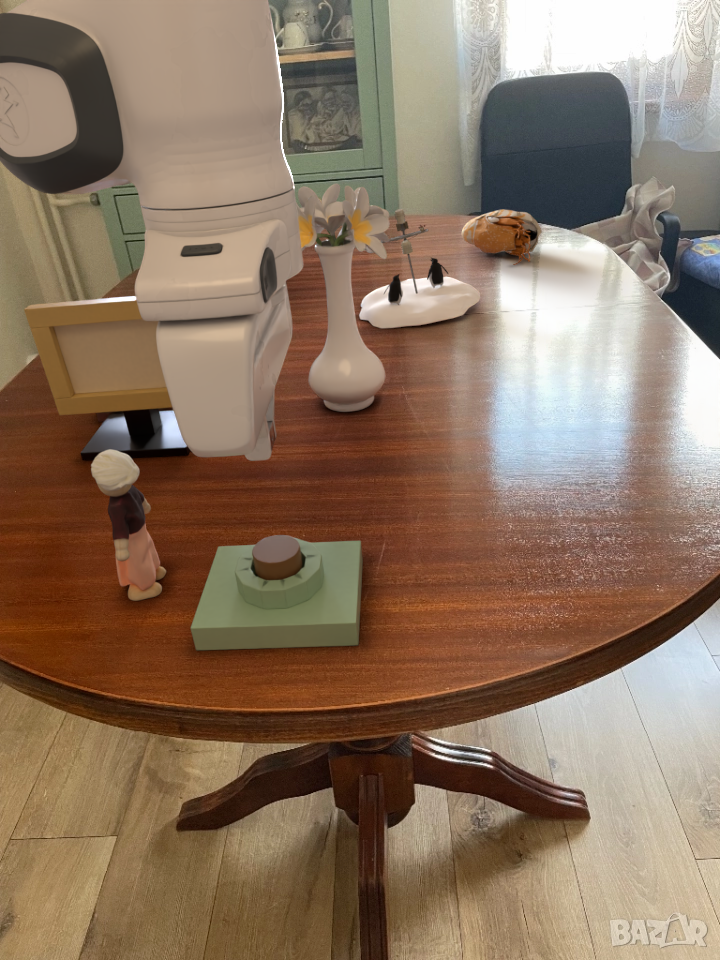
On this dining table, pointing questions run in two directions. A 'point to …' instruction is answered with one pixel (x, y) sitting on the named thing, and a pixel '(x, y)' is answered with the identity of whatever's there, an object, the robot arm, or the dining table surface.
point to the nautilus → (503, 232)
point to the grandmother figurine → (129, 524)
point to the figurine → (417, 293)
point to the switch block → (281, 600)
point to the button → (277, 557)
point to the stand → (138, 435)
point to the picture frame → (99, 355)
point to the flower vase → (343, 293)
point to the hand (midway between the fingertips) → (261, 450)
